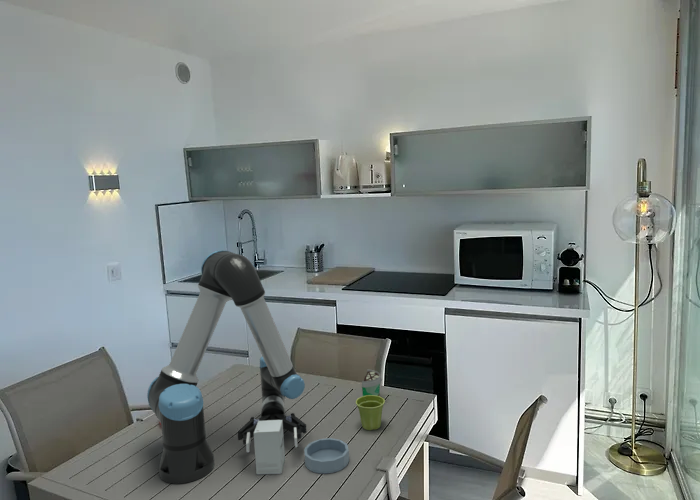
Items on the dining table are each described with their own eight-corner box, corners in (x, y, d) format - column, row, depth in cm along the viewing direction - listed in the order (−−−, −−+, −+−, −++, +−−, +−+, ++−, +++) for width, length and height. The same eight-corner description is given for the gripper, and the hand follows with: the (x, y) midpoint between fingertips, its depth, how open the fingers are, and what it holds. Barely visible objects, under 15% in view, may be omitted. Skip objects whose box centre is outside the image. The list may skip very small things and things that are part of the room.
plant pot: (376, 435, 161) (375, 409, 160) (351, 429, 166) (350, 403, 165) (390, 423, 169) (389, 398, 168) (366, 417, 174) (365, 393, 173)
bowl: (305, 476, 141) (304, 463, 141) (304, 451, 154) (303, 440, 153) (351, 470, 143) (351, 458, 142) (346, 447, 155) (345, 436, 155)
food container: (379, 409, 179) (378, 382, 178) (362, 408, 181) (361, 381, 179) (384, 394, 191) (383, 369, 190) (368, 394, 193) (367, 368, 191)
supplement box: (282, 474, 143) (279, 431, 141) (255, 475, 143) (252, 432, 141) (285, 459, 150) (283, 419, 148) (260, 460, 150) (257, 419, 148)
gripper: (312, 418, 168) (316, 452, 147) (234, 426, 165) (228, 462, 144) (310, 397, 167) (315, 428, 146) (232, 404, 164) (226, 437, 143)
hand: (271, 445), depth 145 cm, fingers open, 13 cm apart
